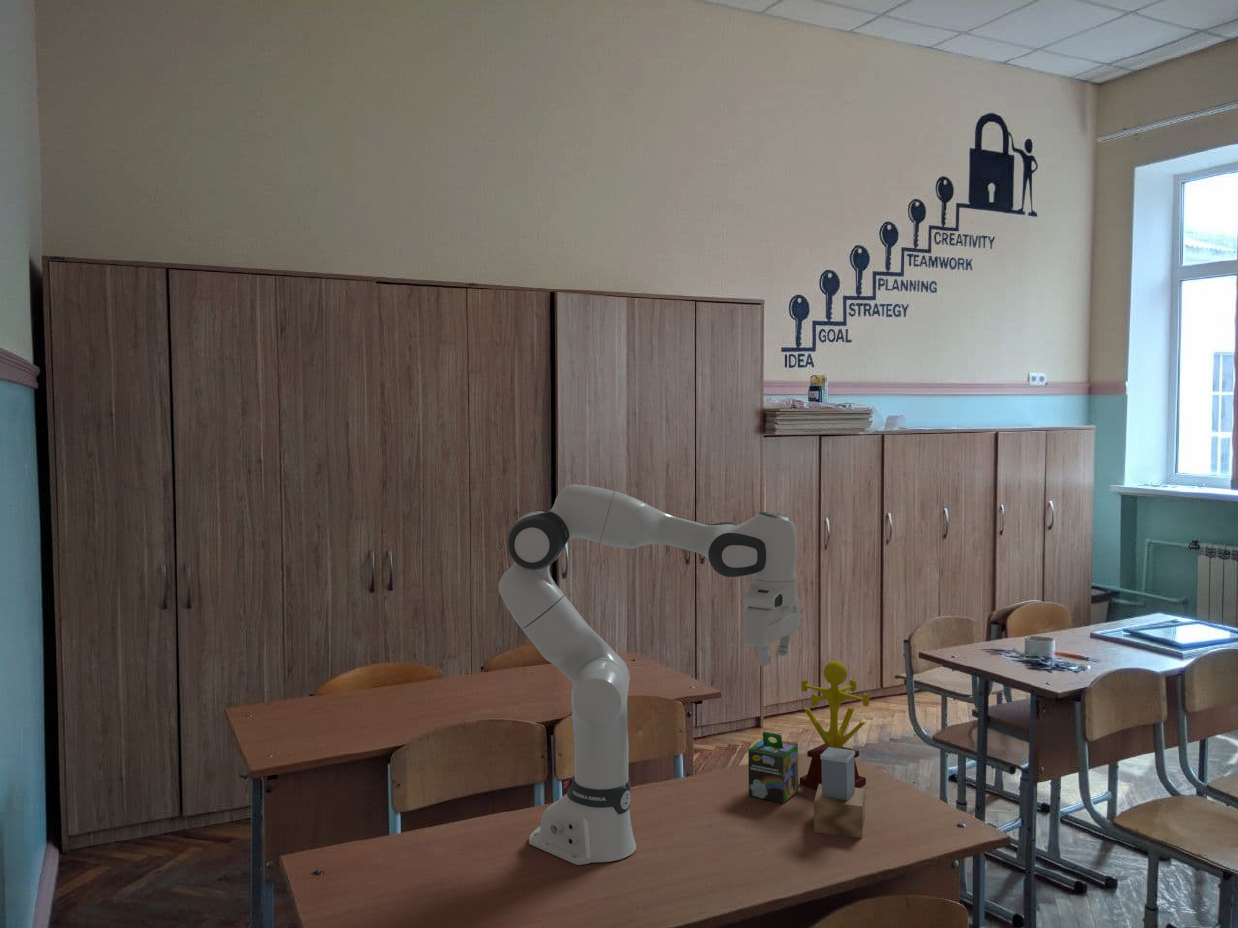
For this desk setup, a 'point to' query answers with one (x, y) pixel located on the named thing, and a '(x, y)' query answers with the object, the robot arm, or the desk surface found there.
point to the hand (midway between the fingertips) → (774, 659)
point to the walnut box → (840, 814)
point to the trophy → (832, 722)
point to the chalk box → (773, 769)
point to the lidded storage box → (838, 773)
